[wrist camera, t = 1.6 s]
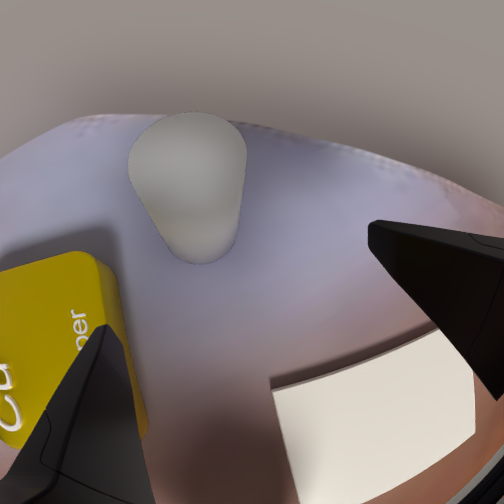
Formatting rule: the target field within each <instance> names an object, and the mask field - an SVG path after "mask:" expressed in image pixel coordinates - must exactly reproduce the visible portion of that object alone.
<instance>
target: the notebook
mask: <svg viewBox="0 0 504 504" xmlns="http://www.w3.org/2000/svg"><path fill="white" fill-rule="evenodd" d="M271 394H272V398H273V402H274V406H275V410H276V414H277V418H278V423H279V427H280V431H281V435H282V439H283V443H284V447H285V451H286V455H287V459H288V463H289V467H290V471H291V475H292V479H293V483H294V487H295V491H296V494H297V498H298V502H299V504H362V503H364V502H366V501H368V500H370V499H373V498H375V497H377V496H379V495H381V494H383V493H385V492H387V491H389V490H391V489H392V488H394V487H396V486H398V485H400V484H402V483H403V482H405V481H407V480H409V479H410V478H412V477H414V476H415V475H417V474H419V473H420V472H422V471H423V470H425V469H427V468H428V467H430V466H431V465H433V464H434V463H436V462H437V461H439V460H440V459H441V458H443V457H444V456H446V455H447V454H449V453H450V452H451V451H453V450H454V449H455V448H457V447H458V446H459V445H460V444H462V443H463V442H464V441H466V440H467V439H468V438H469V437H470V436H472V435H473V434H474V433H475V397H474V381H473V370H472V369H471V368H470V366H469V365H468V364H467V362H466V361H465V360H464V358H463V357H462V356H461V355H460V353H459V352H458V351H457V350H456V349H455V347H454V346H453V345H452V344H451V343H450V341H449V340H448V339H447V338H446V337H445V335H444V334H443V333H442V332H441V331H440V330H439V328H436V329H434V330H432V331H430V332H428V333H426V334H424V335H422V336H420V337H418V338H416V339H413V340H411V341H409V342H407V343H405V344H402V345H400V346H398V347H396V348H393V349H391V350H388V351H386V352H384V353H381V354H379V355H376V356H374V357H371V358H369V359H366V360H364V361H361V362H358V363H356V364H353V365H350V366H347V367H345V368H342V369H339V370H336V371H333V372H330V373H327V374H324V375H321V376H318V377H314V378H311V379H308V380H304V381H301V382H298V383H294V384H291V385H287V386H283V387H279V388H276V389H272V390H271Z"/></svg>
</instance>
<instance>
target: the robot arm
mask: <svg viewBox="0 0 504 504" xmlns="http://www.w3.org/2000/svg"><path fill="white" fill-rule="evenodd" d="M368 247H369V249H370V251H371V252H372V253H373V254H374V256H375V257H376V258H377V259H378V261H379V262H380V263H381V264H382V265H383V267H384V268H385V269H386V270H387V272H388V273H389V274H390V276H391V277H392V278H393V279H394V280H395V281H396V282H397V284H398V285H399V286H400V287H401V288H402V289H403V290H404V291H405V292H406V293H407V294H408V295H409V296H410V297H411V298H412V299H413V301H414V302H415V303H416V304H417V305H418V306H419V307H420V308H421V309H422V310H423V311H424V313H425V314H426V315H427V316H428V317H429V318H430V319H431V320H432V322H433V323H434V324H435V325H436V326H437V327H438V328H439V330H440V331H441V332H442V333H443V334H444V335H445V337H446V338H447V339H448V340H449V341H450V343H451V344H452V345H453V346H454V347H455V349H456V350H457V351H458V352H459V353H460V355H461V356H462V357H463V358H464V360H465V361H466V362H467V364H468V365H469V366H470V368H471V369H472V370H473V371H474V373H475V374H476V375H477V377H478V378H479V379H480V381H481V382H482V383H483V385H484V386H485V387H486V389H487V390H488V391H489V393H490V394H491V395H492V397H493V398H494V399H495V400H496V401H498V399H499V398H500V397H501V396H502V395H503V394H504V238H498V237H491V236H485V235H479V234H473V233H466V232H461V231H455V230H449V229H442V228H436V227H429V226H422V225H415V224H408V223H401V222H393V221H386V220H376V221H373V222H371V223H370V224H369V225H368ZM45 409H46V410H44V411H43V413H42V415H41V417H40V418H39V420H38V422H37V424H36V425H35V427H34V429H33V431H32V432H31V434H30V436H29V437H28V439H27V441H26V442H25V444H24V446H23V447H22V449H21V451H20V452H19V454H18V456H17V457H16V459H15V461H14V462H13V464H12V466H11V468H10V469H9V471H8V473H7V474H6V475H5V476H4V478H2V479H1V480H0V504H156V503H155V499H154V496H153V492H152V489H151V485H150V481H149V477H148V473H147V469H146V464H145V460H144V455H143V450H142V445H141V440H140V435H139V429H138V423H137V417H136V411H135V404H134V396H133V390H132V385H131V381H130V376H129V372H128V367H127V362H126V358H125V352H124V348H123V345H122V343H121V341H120V339H119V338H118V337H117V335H116V334H115V332H114V331H113V329H112V328H111V327H110V325H108V324H104V325H101V326H98V327H96V328H95V329H94V331H93V332H92V334H91V335H90V337H89V338H88V340H87V341H86V343H85V344H84V346H83V347H82V349H81V350H80V352H79V353H78V355H77V356H76V358H75V360H74V361H73V363H72V364H71V366H70V367H69V369H68V371H67V372H66V374H65V375H64V377H63V379H62V380H61V382H60V384H59V385H58V387H57V389H56V390H55V392H54V394H53V395H52V397H51V399H50V401H49V402H48V404H47V406H46V408H45ZM503 495H504V444H503V445H502V447H501V448H500V449H499V450H498V451H497V453H496V454H495V455H494V456H493V457H492V458H491V460H490V461H489V462H488V463H487V464H486V465H485V466H484V467H483V468H482V469H481V470H480V472H479V473H478V474H477V475H476V476H475V477H474V478H473V479H472V480H471V481H470V482H469V483H468V484H467V485H466V486H465V487H463V488H462V489H461V490H460V491H459V492H458V493H457V494H456V495H455V496H454V497H452V498H451V499H450V500H449V501H448V502H447V503H446V504H504V497H503ZM502 497H503V498H502Z"/></svg>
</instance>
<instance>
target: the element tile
mask: <svg viewBox="0 0 504 504" xmlns="http://www.w3.org/2000/svg"><path fill="white" fill-rule="evenodd" d="M104 324H108V325H110V327H111V328H112V329H113V331H114V332H115V334H116V335H117V337H118V338H119V339H120V341H121V343H122V345H123V348H124V352H125V358H126V362H127V367H128V372H129V376H130V381H131V385H132V390H133V396H134V404H135V411H136V417H137V423H138V429H139V435H140V440H141V439H142V438H143V437H144V435H145V434H146V432H147V430H148V418H147V414H146V410H145V407H144V404H143V400H142V397H141V393H140V390H139V386H138V382H137V378H136V375H135V371H134V366H133V362H132V358H131V354H130V349H129V345H128V340H127V335H126V330H125V325H124V319H123V314H122V308H121V301H120V295H119V288H118V283H117V279H116V276H115V275H114V273H113V271H112V269H110V268H109V267H108V266H106V265H105V264H104V263H102V262H101V261H99V260H98V259H96V258H95V257H93V256H92V255H90V254H89V253H86V252H82V251H72V252H68V253H64V254H60V255H57V256H53V257H49V258H46V259H42V260H39V261H35V262H32V263H28V264H25V265H21V266H18V267H15V268H11V269H8V270H5V271H1V272H0V439H1V440H2V441H4V443H6V444H7V445H9V446H10V447H12V448H15V449H20V450H21V449H22V447H23V446H24V444H25V442H26V441H27V439H28V437H29V436H30V434H31V432H32V431H33V429H34V427H35V425H36V424H37V422H38V420H39V418H40V417H41V415H42V413H43V411H44V410H46V409H45V408H46V406H47V404H48V402H49V401H50V399H51V397H52V395H53V394H54V392H55V390H56V389H57V387H58V385H59V384H60V382H61V380H62V379H63V377H64V375H65V374H66V372H67V371H68V369H69V367H70V366H71V364H72V363H73V361H74V360H75V358H76V356H77V355H78V353H79V352H80V350H81V349H82V347H83V346H84V344H85V343H86V341H87V340H88V338H89V337H90V335H91V334H92V332H93V331H94V329H95V328H96V327H98V326H101V325H104Z"/></svg>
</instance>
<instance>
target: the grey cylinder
mask: <svg viewBox="0 0 504 504" xmlns="http://www.w3.org/2000/svg"><path fill="white" fill-rule="evenodd" d="M246 164H247V148H246V144H245V141H244V139H243V137H242V135H241V134H240V132H239V131H238V130H237V129H236V128H235V127H234V126H233V125H232V124H231V123H229V122H228V121H226V120H224V119H223V118H220V117H218V116H215V115H212V114H208V113H203V112H184V113H179V114H174V115H171V116H168V117H166V118H163V119H161V120H159V121H157V122H156V123H154V124H153V125H151V126H150V127H149V128H147V129H146V130H145V131H144V132H143V133H142V134H141V135H140V136H139V138H138V139H137V140H136V142H135V143H134V145H133V147H132V149H131V151H130V155H129V158H128V174H129V178H130V181H131V184H132V185H133V187H134V189H135V191H136V193H137V195H138V196H139V198H140V200H141V202H142V203H143V205H144V207H145V209H146V211H147V212H148V214H149V216H150V217H151V219H152V221H153V223H154V224H155V226H156V228H157V229H158V231H159V233H160V235H161V236H162V238H163V240H164V241H165V243H166V245H167V246H168V248H169V249H170V251H171V252H172V253H173V254H174V255H175V256H176V257H178V258H179V259H181V260H183V261H185V262H188V263H191V264H207V263H211V262H214V261H216V260H218V259H220V258H221V257H223V256H224V255H225V254H226V253H227V252H228V251H229V250H230V249H231V247H232V246H233V244H234V242H235V240H236V236H237V231H238V223H239V215H240V208H241V200H242V193H243V186H244V178H245V171H246Z"/></svg>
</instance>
